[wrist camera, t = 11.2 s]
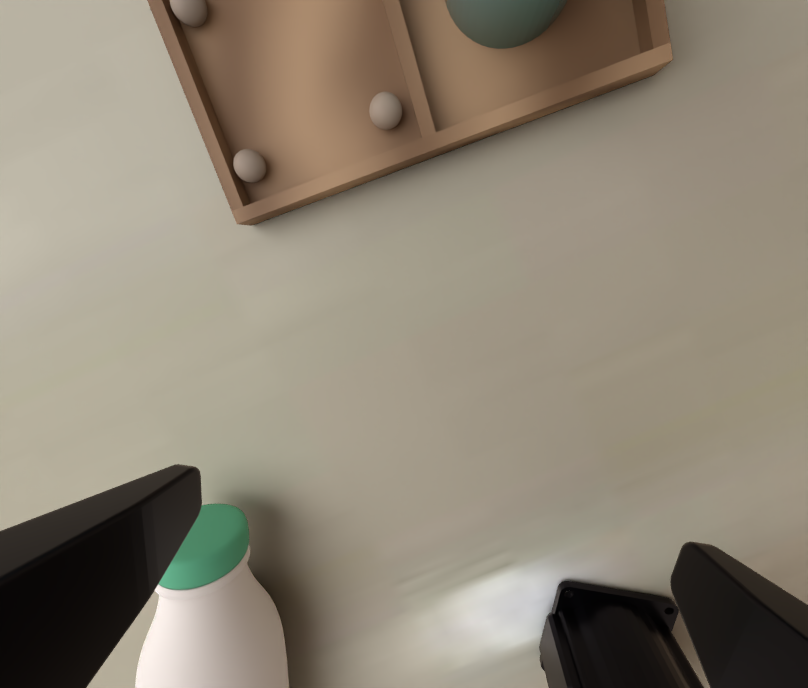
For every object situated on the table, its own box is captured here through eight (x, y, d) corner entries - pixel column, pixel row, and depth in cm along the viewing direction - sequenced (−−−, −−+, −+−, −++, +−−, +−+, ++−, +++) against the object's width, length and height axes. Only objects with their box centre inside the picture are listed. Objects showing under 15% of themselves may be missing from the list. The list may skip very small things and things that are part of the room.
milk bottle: (283, 705, 30) (267, 472, 25) (306, 839, 23) (290, 556, 18) (167, 761, 26) (122, 504, 22) (153, 938, 20) (84, 621, 15)
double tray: (599, -257, 14) (620, -324, 12) (653, 75, 16) (677, 55, 14) (154, -23, 17) (123, -51, 15) (251, 225, 19) (233, 223, 18)
